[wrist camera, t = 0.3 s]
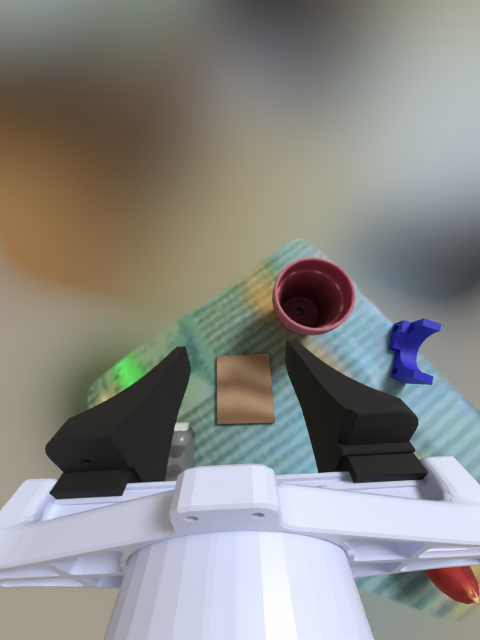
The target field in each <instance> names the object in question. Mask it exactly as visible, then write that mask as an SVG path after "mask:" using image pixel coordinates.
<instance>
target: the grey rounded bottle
mask: <svg viewBox="0 0 480 640" xmlns="http://www.w3.org/2000/svg"><path fill="white" fill-rule="evenodd" d="M188 426H189V422H185V423H176V424H175V429H174V431H176V432H174V433H173V438H172V443H171V448H170V454H169V459H168V465H167V471H166V478H165V481H177V477H178V475H179V474H180V473H182V472H183V471H185V470H186V469H188V468H193V467H194V445H195V434H194V431H193V429H192V428H190V427H188Z"/></svg>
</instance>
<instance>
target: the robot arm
mask: <svg viewBox="0 0 480 640" xmlns="http://www.w3.org/2000/svg"><path fill="white" fill-rule="evenodd" d="M285 363H286V368H287V371H288V375H289V378H290V380H291V383H292V385H293V388H294V390H295V393H296V395H297V398H298V400H299V403H300V406H301V408H302V411H303V415H304V418H305V422H306V425H307V429H308V433H309V436H310V440H311V444H312V448H313V452H314V456H315V460H316V464H317V469H318V473H309V474H291V475H275V473H274V471H273V470H272V469H271V468H269V467H267V466H265V465H263V464H235V465H217V466H199V467H193V468H188V469H186V470H185V471H183V472H182V473H180V474H179V475H178V477H177V481H165V478H166V471H167V465H168V459H169V454H170V448H171V443H172V438H173V433H174V429H175V424H176V420H177V416H178V412H179V409H180V406H181V403H182V400H183V397H184V394H185V391H186V388H187V385H188V381H189V377H190V371H191V367H190V363H189V359H188V355H187V351H186V347H185V346H184V347H176V348H175V349H174V350H173V351H172V352H171V353H170V354H169V355H168V356H167V357H165V358H164V359H163V360H162V361H161V362H160V363H159V364H158V365H157V366H156V367H154V368H153V369H152V370H151V371H150V372H148V373H147V374H146V375H145V376H143V377H142V378H141V379H139V380H138V381H137V382H135V383H134V384H132V385H131V386H129V387H128V388H126V389H125V390H123V391H121V392H120V393H118V394H117V395H115V396H113V397H112V398H110V399H108V400H106V401H104V402H103V403H101V404H99V405H97V406H95V407H93V408H91V409H89V410H87V411H85V412H82V413H80V414H78V415H76V416H74V417H71V418H69V419H68V420H67V421H66V422H65V423H64V425H63V426H62V427H61V428H60V429H59V430H58V432H57V433H56V434H55V435H54V437H52V439H51V440H50V441H49V442H48V443H47V445H46V447H45V450H46V454H47V456H48V457H49V458H50V459H51V460H52V461H53V462H54V463H55V464H56V465H57V466H58V467H59V468H60V469H61V470H62V471H63V474H62V475H61V477H60V478H59V480H56V479H51V478H46V479H28V480H26V481H24V483H23V484H22V485H21V486H20V488H19V489H18V490H17V491H16V493H15V494H14V495H13V496H12V497H11V499H10V500H9V501H8V502H7V503H6V505H5V506H4V507H3V508H2V509H1V511H0V588H17V587H79V588H119V593H118V596H117V599H116V602H115V605H114V608H113V611H112V614H111V617H110V621H109V624H108V627H107V630H106V633H105V636H104V640H374V639H373V636H372V633H371V630H370V627H369V624H368V621H367V618H366V615H365V612H364V609H363V605H362V603H361V600H360V596H359V593H358V590H357V587H356V584H355V581H354V578H361V577H370V576H378V575H386V574H394V573H403V572H411V571H419V570H428V569H438V568H449V567H460V566H476V565H480V485H479V484H478V483H477V482H476V481H475V480H474V478H473V477H472V476H471V475H470V474H469V473H468V472H467V471H466V470H465V469H464V468H463V467H462V466H461V465H460V464H459V462H458V461H457V460H456V459H455V458H454V457H452V456H439V457H426V458H423V459H420V460H418V458H417V457H416V456H415V454H414V453H413V452H415V448H414V447H413V446H412V444H411V443H410V442H409V440H410V439H411V437H412V435H413V434H414V432H415V431H416V429H417V426H418V418H417V416H416V415H415V414H414V413H413V412H412V411H411V409H410V408H409V407H408V406H407V405H406V404H405V403H404V402H403V401H402V400H401V399H400V398H397V397H394V396H391V395H389V394H386V393H383V392H380V391H378V390H375V389H373V388H371V387H368V386H366V385H364V384H361V383H359V382H357V381H355V380H353V379H351V378H349V377H347V376H345V375H344V374H342V373H340V372H338V371H337V370H335V369H333V368H332V367H330V366H329V365H327V364H326V363H324V362H323V361H321V360H320V359H319V358H317V357H316V356H315V355H314V354H312V353H311V352H310V351H309V350H307V349H306V348H305V347H304V346H303V345H302V344H300V343H299V342H298V341H297V340H296V339H291V340H287V342H286V358H285Z"/></svg>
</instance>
